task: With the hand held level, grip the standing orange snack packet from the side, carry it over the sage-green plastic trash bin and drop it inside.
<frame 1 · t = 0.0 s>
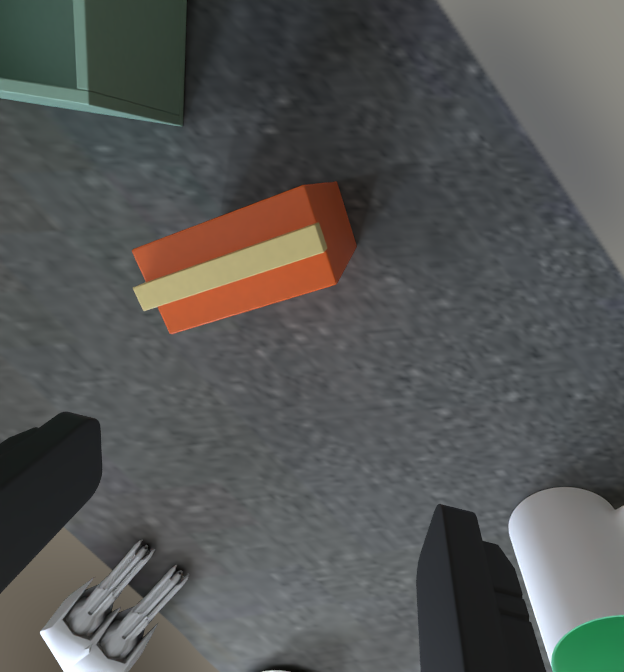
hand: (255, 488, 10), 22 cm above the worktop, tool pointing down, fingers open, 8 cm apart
packet: (286, 235, 30), on the worktop
mug: (580, 511, 34), on the worktop
turret: (125, 597, 47), on the worktop
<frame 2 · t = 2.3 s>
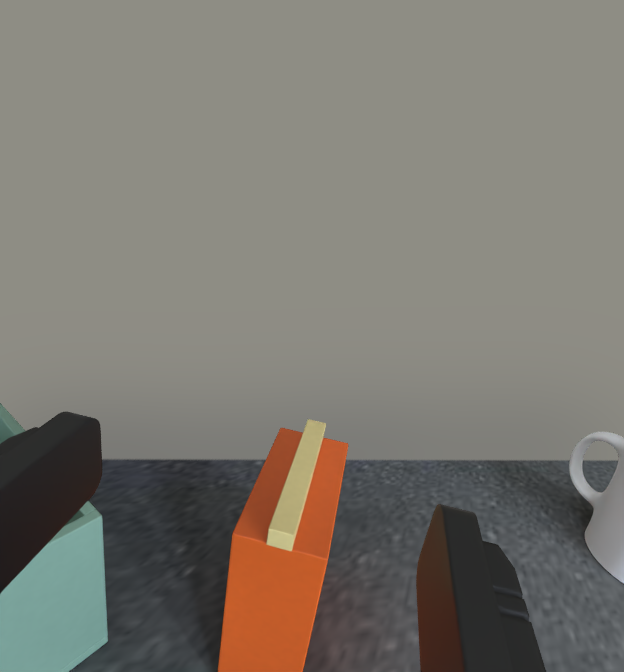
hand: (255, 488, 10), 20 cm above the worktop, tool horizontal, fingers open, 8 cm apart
packet: (276, 615, 28), on the worktop
mug: (612, 543, 38), on the worktop
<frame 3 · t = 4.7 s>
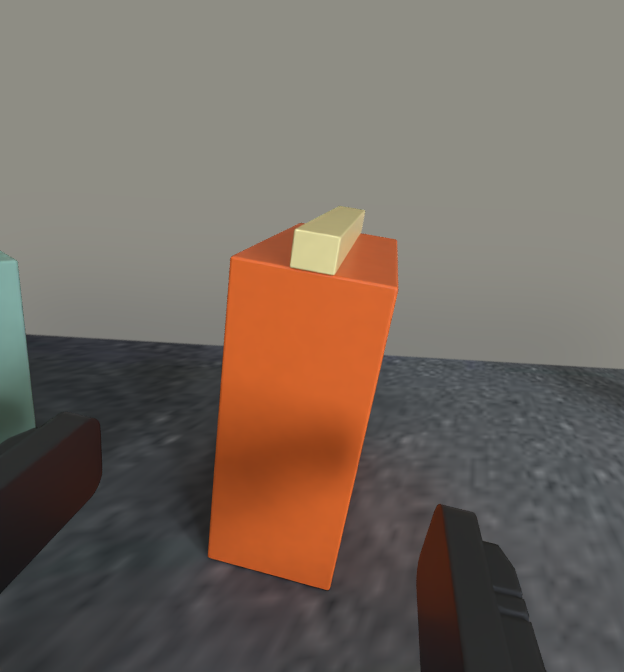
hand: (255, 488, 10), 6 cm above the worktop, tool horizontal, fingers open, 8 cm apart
packet: (294, 489, 19), on the worktop
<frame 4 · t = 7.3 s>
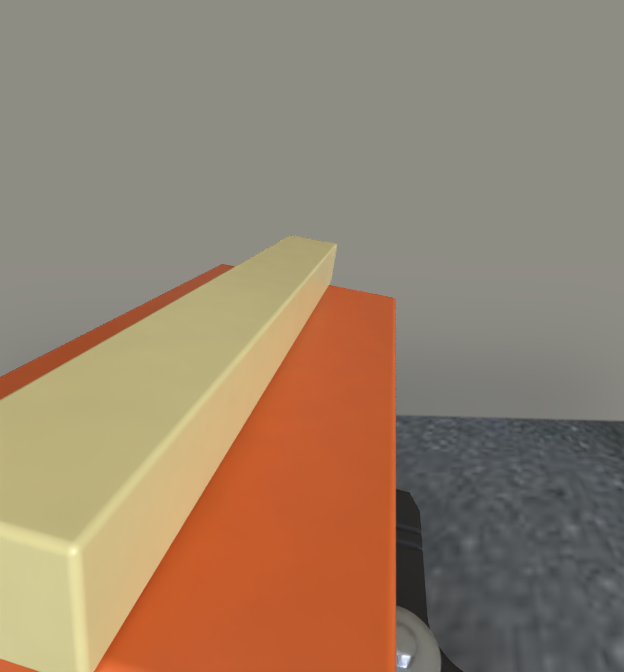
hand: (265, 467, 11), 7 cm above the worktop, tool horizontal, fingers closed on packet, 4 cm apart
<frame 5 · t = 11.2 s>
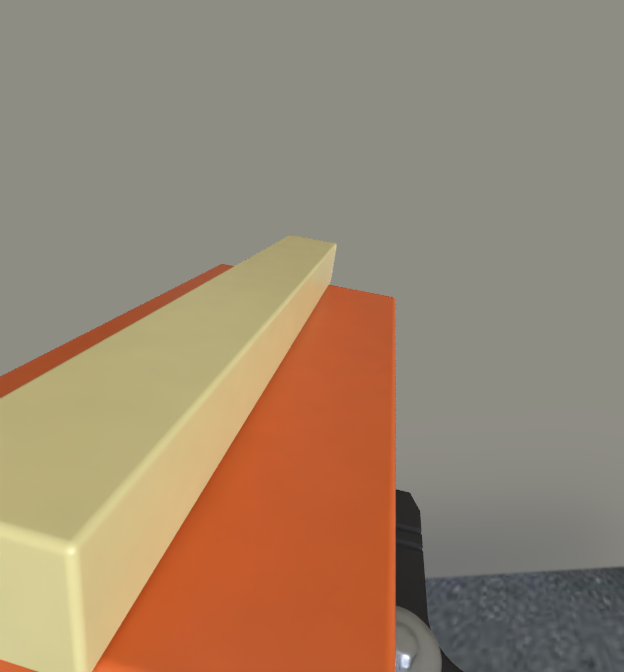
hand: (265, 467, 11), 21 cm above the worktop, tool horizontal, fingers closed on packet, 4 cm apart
when the fingers open (14 cm above the worktop, at t = 15.1 s): packet drops 7 cm, resting on bin.
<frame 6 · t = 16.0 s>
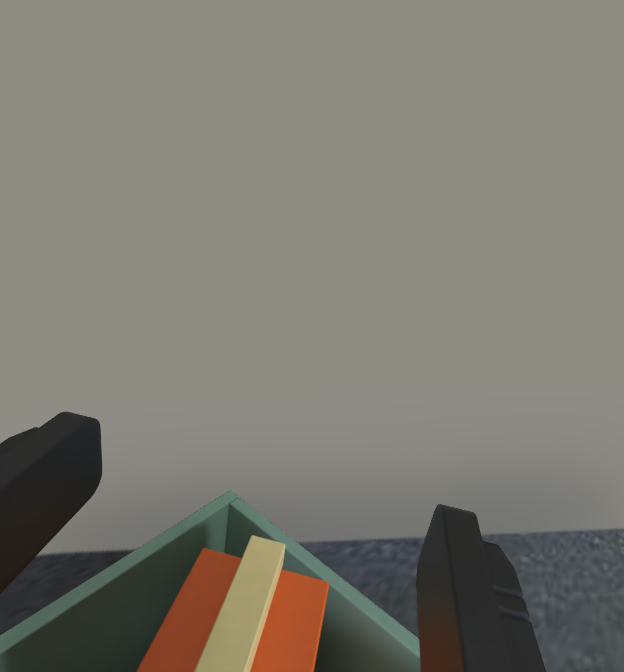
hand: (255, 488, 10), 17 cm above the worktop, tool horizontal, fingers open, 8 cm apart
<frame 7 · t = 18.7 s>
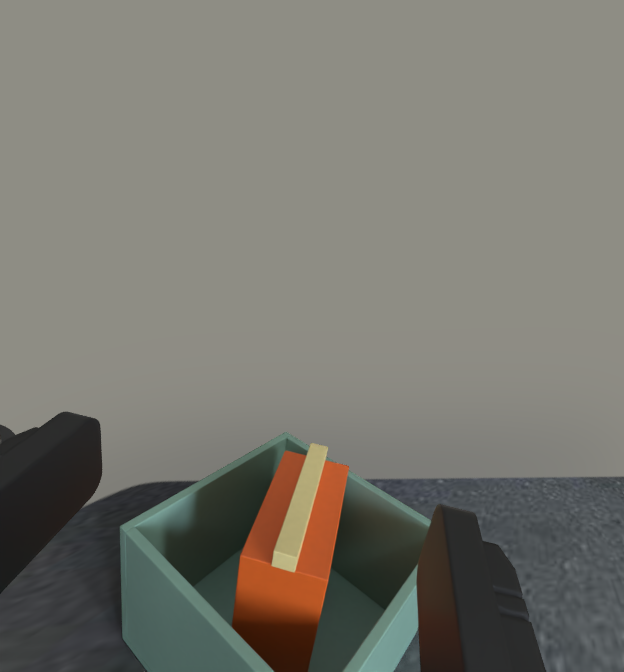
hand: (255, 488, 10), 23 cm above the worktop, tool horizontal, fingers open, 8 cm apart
packet: (280, 629, 29), point 1 cm above the worktop, touching bin
bin: (277, 635, 29), on the worktop
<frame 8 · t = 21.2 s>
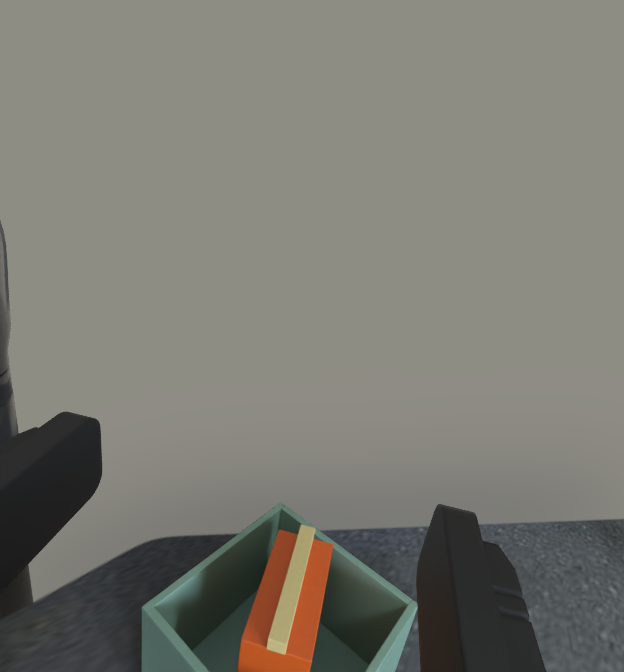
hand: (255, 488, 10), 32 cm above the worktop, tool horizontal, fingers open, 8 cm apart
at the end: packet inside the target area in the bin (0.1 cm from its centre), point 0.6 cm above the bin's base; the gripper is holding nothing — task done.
